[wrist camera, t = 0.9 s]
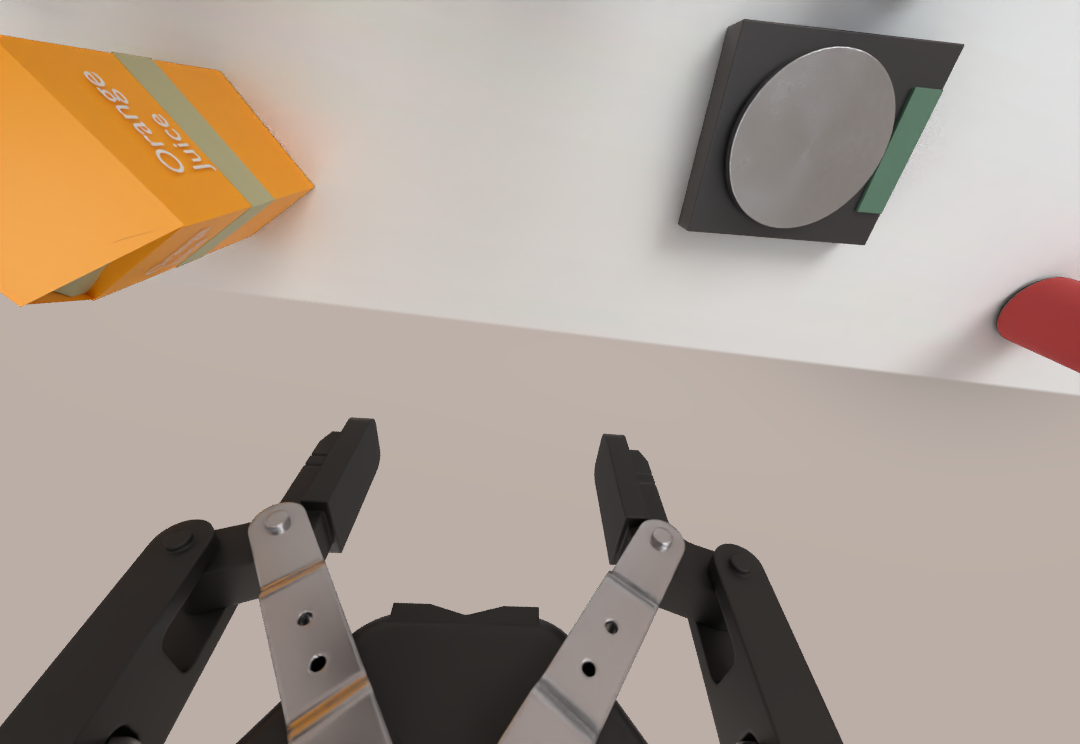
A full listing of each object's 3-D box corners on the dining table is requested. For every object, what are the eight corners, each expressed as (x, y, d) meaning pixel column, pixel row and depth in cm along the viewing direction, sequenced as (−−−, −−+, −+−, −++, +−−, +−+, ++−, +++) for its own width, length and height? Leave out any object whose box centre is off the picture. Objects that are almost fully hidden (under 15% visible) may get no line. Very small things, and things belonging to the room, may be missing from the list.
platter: (757, 39, 25) (763, 36, 25) (920, 57, 26) (930, 55, 25) (705, 220, 31) (709, 222, 31) (840, 231, 32) (847, 233, 31)
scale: (727, 26, 27) (746, 17, 25) (933, 49, 28) (969, 43, 26) (677, 224, 34) (688, 231, 32) (844, 238, 35) (867, 246, 33)
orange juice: (250, 237, 34) (-26, 352, 17) (151, 133, 30) (-340, 148, 13) (317, 186, 32) (80, 259, 15) (221, 67, 28) (-252, -16, 11)
